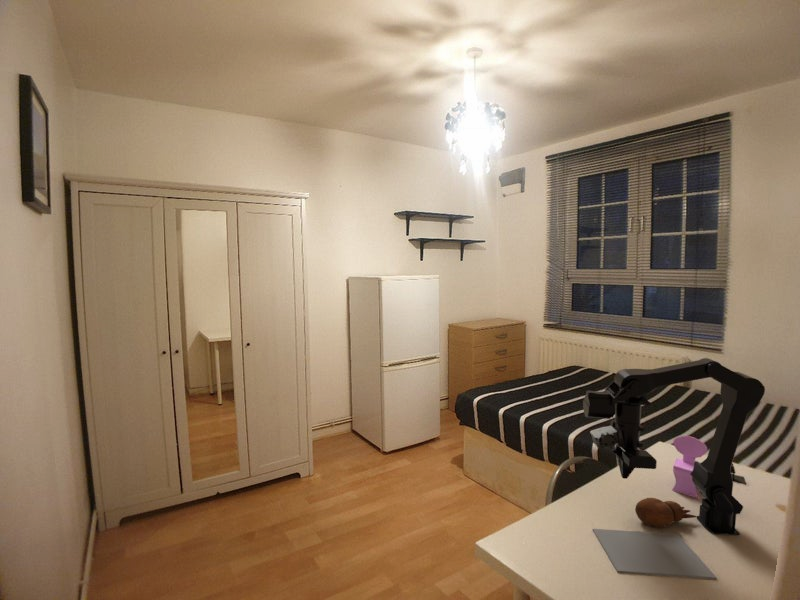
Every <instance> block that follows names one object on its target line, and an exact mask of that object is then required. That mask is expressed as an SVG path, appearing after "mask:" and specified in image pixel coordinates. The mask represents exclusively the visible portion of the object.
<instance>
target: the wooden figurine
mask: <svg viewBox="0 0 800 600" xmlns="http://www.w3.org/2000/svg"><path fill="white" fill-rule="evenodd" d="M690 513H691V510H690V509H685V506H681V504H679V503H678V502H676V501H673V500H672V501H671V500H665V501H663V500H660V499H659V498H656V497H646V498H644V499H641V500H639V501H637V503H636V505H635V515H636V516H637V518H638V519H639V520H640V521H641V522H642V523H643V524H644V525H645V524H646V525H647V526H650V527H653V528H665V527H669V526H671V525H672V524H673V523H675V522H680V521H683V519H692V518H693V519H695V518H697V516H698V515H693V514H690Z"/></svg>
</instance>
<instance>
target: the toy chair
mask: <svg viewBox="0 0 800 600" xmlns="http://www.w3.org/2000/svg"><path fill="white" fill-rule="evenodd" d="M672 443H673V446H674V448H675V449H676V451H677V452H678V453H680V454H681V455H682V459H681V458H678V457H676V458H675V460H674V463H673V468H672V471H673V475H674V479H675V482H674V483H675V484H674V486H673V488H672V489H671V491H673V492H676V493H680V494H683V495H687V496H690V497H693V498H695V499H699V495H698V494H697V490H696V488H697V487H696V486H695V485H694V483H693V481H692V476H691V475H690V473H691V472H692V471H693V468H694V463H695V461H696V459H698V458H701V457H703V456H704V455H706V453H708V446H707V445H706V444H705V443H704V442H702V441H701V440H700V439H698V438H696V437H693V436H690V435H684V436H683V435H682V436H677V437H676V438H674V439H673V441H672Z"/></svg>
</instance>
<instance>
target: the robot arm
mask: <svg viewBox="0 0 800 600" xmlns="http://www.w3.org/2000/svg"><path fill="white" fill-rule="evenodd" d="M709 378H711V379H713V380H714V381H716V382H718V383H720V397H721V402H722V409H721V411H720V415H719V418H718V421H717V424H716V427H715V431H714V434H713V438H712V439H711V440H712V441H711V444H710V446H709V451H708V452H707V453H708V454H707V457H706V458H705V459H704V460H702V462H699V461H697V460H695V463H694V468H693V471H692V472H691V473H690V475H691V476H692V481H693V483H694V485H695V486H696V487H695V488H697V489H698V490H699V493H700V494H701V495H702V496H703V497H704V498H702V499H701V504H700V505H699V513H698V515H696V516H697V517H696V519H697V521H699V522H700V524H702V525H703V526H704V527H705V528H706V529H707V530H708V531H709V532H710V533H712V534H716V535H731V536H732V535H733V536H740V531H738V530H737V528H736V523H737V522H736V521H737V515H741V513H742V511H743V509H744V505H742V503H740V502H739V500H738V499H736V498H735V497H734V496H733V487H734V482H733V480H732V475H731V474H732V473H731V465H732V463H733V461H734V458H735V454H736V452H737V448H738V446H739V442H740V438H741V435H742V433H743V429H744V426H745V423H746V421H747V417H748V415H749V414H750V412H752V411H753V410H754V409H756V408H757V407H758V406H759V405H760V402H761V401H762V399H763V397H764V395H765V394H766V388H765V385H764V384H763V383H762V382H761V381H760V380H759V379H757V378H755V377H752V376H749V375H748V374H745V373H742V372H739V371H733V370H731V369H729V368H727V367H726V366H723V365H722V364H721V363H720V362H719V361H716V360H713V359H711V358H707V357H704V358H700V359H699V360H698V359H697V360H694V361H693V360H692V361H687V362H684V363H683V362H682V363H677V364H673V365H667V366H663V367H656V368H652V369H650V368H649V369H647V368H622V369H619V370H618V371H617V372H616V374H615V375H614V378H613V380H612V381H611V383H609V385H608V386H607V387H606V388H605V389H604V391H595V390H594V391H593V390H586V391H585V392H586V393H585V396H584V398H583V400H582V410H583V415H584V416H585V418H592V419H604V420H605V419H607V420H610V419H611V420H610V425H608V426H601V427H598V428H595V429H592V430H590V432H589V434H590V435H591V439H592V442H593V444H594V445H595V446H596V448H597V449H599V450H603V449H608V448H609V449H610V450H611V451H612V453H614V455H615V456H616V459H617V464H618V466H619V471H620V477H621V478H622V479H628V478H629V477H630V476H631V474H632V473H633V472H634V470H635V469H647V470H648V469H649V470H655V469H657V462H658V461H657V459H656V458H655V457H654V456H653V455H652V454H650V452H649V451H647V450H646V449H645V450H643V449H640V448H643V442H642V441H640V434H641V432H644V426H642V425H641V419H642V417H641V416H642V406H651V405H652V403H651V402H650V401H649V400H648V398H646V396H645V395H646V394H650V393H652V392H653V391H655V390H656V389H658V388H660V387H666V386H670V385H676V384H681V383H686V382H692V381H697V380H703V379H709ZM612 418H614V419H612Z"/></svg>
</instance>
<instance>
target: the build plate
mask: <svg viewBox="0 0 800 600" xmlns="http://www.w3.org/2000/svg"><path fill="white" fill-rule="evenodd" d="M731 475H732V480H733V483H737V484H743V485H747V482H746V479H745V476H743V475H737V474H736V469H735V466H734V463H733V462H732V465H731Z"/></svg>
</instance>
